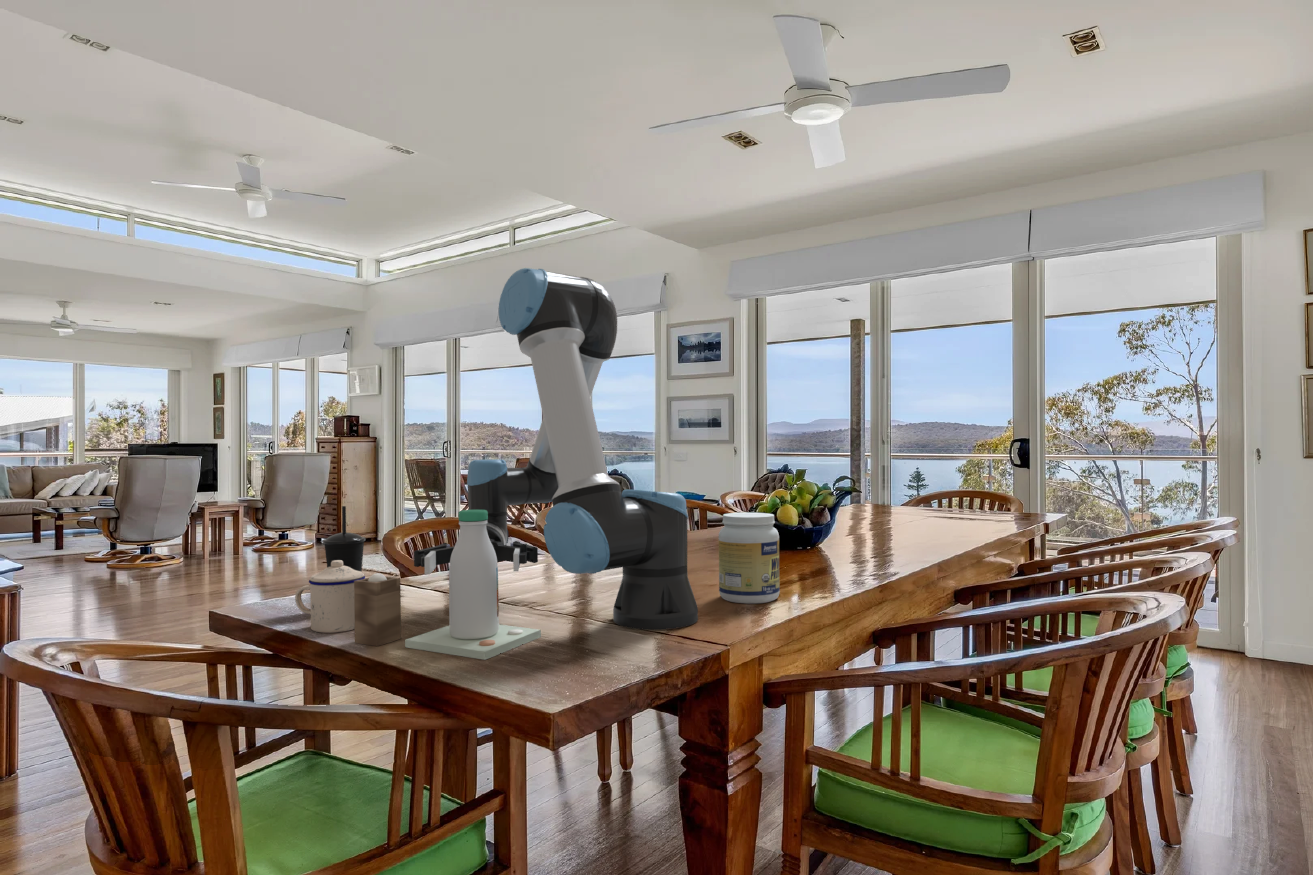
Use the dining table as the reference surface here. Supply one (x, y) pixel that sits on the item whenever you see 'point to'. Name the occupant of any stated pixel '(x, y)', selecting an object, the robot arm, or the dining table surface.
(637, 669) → the dining table surface
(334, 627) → the teacup with lid
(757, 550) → the supplement tub
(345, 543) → the drinking cup
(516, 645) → the card
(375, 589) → the walnut tube
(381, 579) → the cream ball
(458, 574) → the milk bottle
